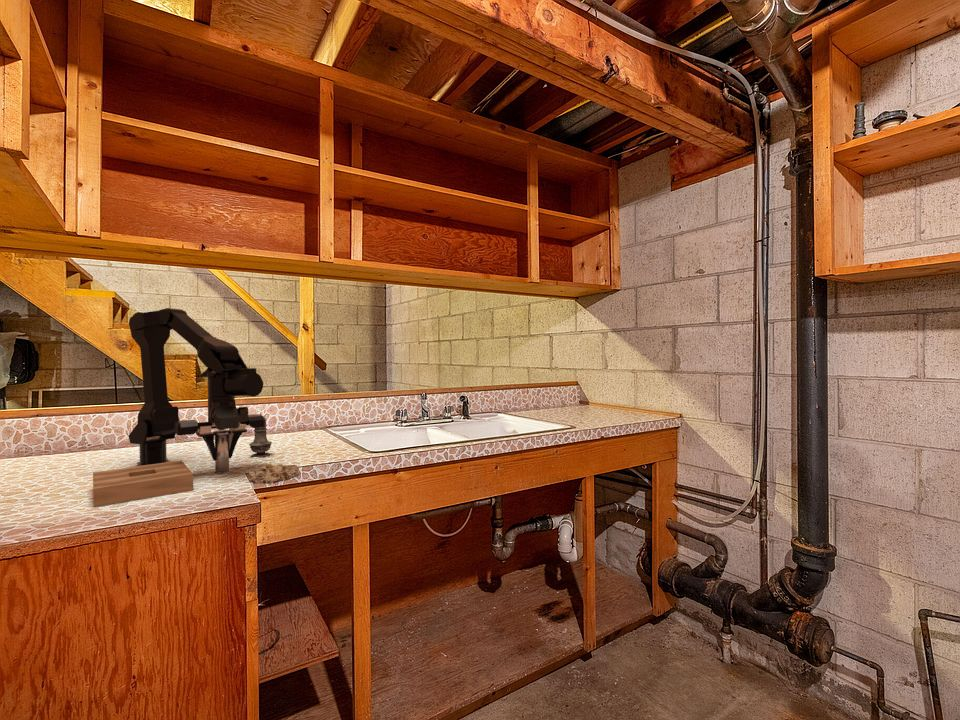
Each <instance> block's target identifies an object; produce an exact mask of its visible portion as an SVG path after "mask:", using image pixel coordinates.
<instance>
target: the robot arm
mask: <svg viewBox="0 0 960 720" xmlns="http://www.w3.org/2000/svg"><path fill="white" fill-rule="evenodd" d="M128 327H129V330H130V336H131V338H132V339H133V340H134V342H135V343H136V344H137V345H138V347H139V349H140V350H139V351H140V360H141V361H140V362H141V373H142V384H143V385H142V386H143V387H142V388H143V396H144V397H143V399H144V404H143V405H142V407H141V408H140V410H139V412H138V413H137V424H136V425H135V427H134V428H133V429H132V430H131V432H130V433H128V436H127V437H128V440H129V444H130V445H138V446H139V461H137V462H136V465H137V466H143V465H151V464H158V463H166V462H170V461H169V459H168V457H167V440H174V439H175V438H176V436H188V435H197V436H198V437H199V438H202V439H203V440H204V443H205V445H206V446H207V449H208V451H209V453H210V456H211V459H212V460H213V461H214V462H215V460H216V452H215V436H214V433H212V432H213V430H214V429H216V430H231V434H229V459H232V457H233V454H234V451H235V449H236V446H237V444H238V441H239V439H240V437H241V436H242V435H243V433H247V432H248V429H247V428H246V427H247V426H250V428H252V429H255V428H258V427H265V419H266V418H265V416H264V415H262V414H261V415H259V414H260V413H259V414H258V413H255V414H249V408H248V406H239V407H238V408H237V406H236V399H235V397H249V398H250V397H253V398H254V397H257V396H259V395H260V394H261V393H262V391H263V389H264V381H263V379H262V377H261V375H260V374H259V373H257V368H256V367H253V368H252V367H251V368H250V367H249V368H248V366H247V364H246V363H245V362H244V359H243V358H242V357H241V354H240V353H239V352H240V351H239V350H238V348H237V347H236V346H235V345H234V344H232V343H229V342H228V341H225V340H223V339H219V338H217V337H215V336H213V335H212V334H211V333H210V332H208V331H207V330H206V329H205V328H204V327H202V326H201V325H200V324H199V323H197V322H196V321H195V320H194V319H193V318H192V317H190V316H189V315H188V313H187V312H186V310H183V309H180V308H169V307H166V308H161V309H158V310H152V311H147V312H146V311H145V312H144V311H142V312H140V311H136V312H135V313H134V314H133V315H132V316H131V317H130V318H129V320H128ZM172 330H173V331H174V332H175V333H176V334H178V335H179V336H180V337H181V338H182V339H184V340H185V341H186V342H187V343H188V344H190V345H191V346H192V347H193V348H194V349H195V350H196V356H197V358H198V359H199V360H200V362H201V363H202V364H203V365H204V366H205V368H206V369H205V370H204V371H203V372H202V373H201V374H200V377H201V378H207V421H201V422H200V421H199V422H198V421H197V420H196V419H185V420H183V419H182V420H181V419H180V417H179V407H178V406H176V405H175V406H173V404H172V403H171V402H170V401H169V397H168V396H169V395H168V384H167V383H168V382H167V370H166V359H165V345H166V343H167V342H168V340H169V339H170V336H171V331H172Z"/></svg>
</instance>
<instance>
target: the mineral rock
mask: <svg viewBox="0 0 960 720" xmlns="http://www.w3.org/2000/svg"><path fill="white" fill-rule="evenodd" d="M299 470H300V469H299V467H298V466H297V465H296V464H291V465H289V464H288V465H286V464H284V465H283V464H282V463H279V464H275V465H274V464H272V463H271V464H270V463H266V464H265V468H260V467H259V468H255V470H253V471H249V473H248V475H249V479H250V481H252V482H254V483H255V484H258V485H259V484H275V483H278V482H283V481H285V480H289V479H293V478H295V477H296V476H298V475H299Z"/></svg>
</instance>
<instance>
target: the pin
mask: <svg viewBox="0 0 960 720" xmlns="http://www.w3.org/2000/svg"><path fill="white" fill-rule="evenodd" d="M211 432H212V433H214V444H215V452H216V460H215V461H214V462H215V463H214V466H215V467H214V471H215V472H214V473H215V474H223V473H224V472H225V473H228V472H230V458H229V434H231V430H229V429H224V430H218V429H216V430H212V431H211Z"/></svg>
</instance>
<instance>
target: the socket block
mask: <svg viewBox="0 0 960 720" xmlns="http://www.w3.org/2000/svg"><path fill="white" fill-rule="evenodd" d="M92 488H93V489H92V491H93V492H92V494H93V496H92V499H93V504H92V505H93V508H97V507H96V506H98V507H103V506H102V505H104V506H109V505H108V504H110V505H114V504H113V503H116V504H120V503H119V502H122V503H127V502H132V500H133V501H138V500H144V499H150V498H156V497H160V496H161V497H162V496H167V495H174V494H179V493H184V491H185V492H190V491H194V473H193V472H192V471H191V469H189V467H188V466H187V465H186V464H185V463H184V461H182V460H175V461H169V462H166V463H158V464H151V465H143V466H138V465H137V466H130V467H122V468H115V469H107V470H100V471H93V472H92ZM173 493H174V494H173ZM126 501H127V502H126Z"/></svg>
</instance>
